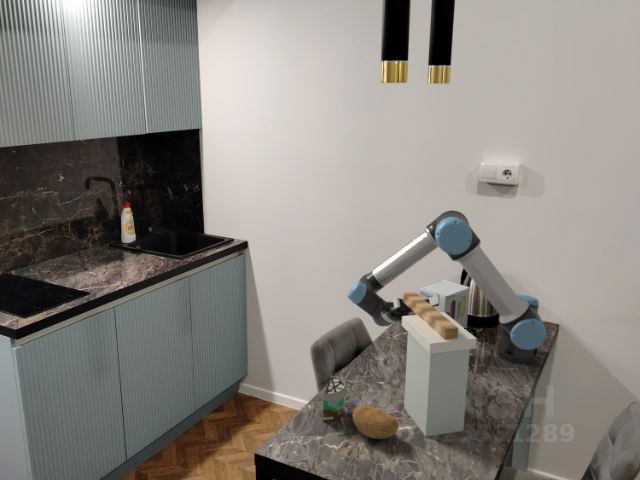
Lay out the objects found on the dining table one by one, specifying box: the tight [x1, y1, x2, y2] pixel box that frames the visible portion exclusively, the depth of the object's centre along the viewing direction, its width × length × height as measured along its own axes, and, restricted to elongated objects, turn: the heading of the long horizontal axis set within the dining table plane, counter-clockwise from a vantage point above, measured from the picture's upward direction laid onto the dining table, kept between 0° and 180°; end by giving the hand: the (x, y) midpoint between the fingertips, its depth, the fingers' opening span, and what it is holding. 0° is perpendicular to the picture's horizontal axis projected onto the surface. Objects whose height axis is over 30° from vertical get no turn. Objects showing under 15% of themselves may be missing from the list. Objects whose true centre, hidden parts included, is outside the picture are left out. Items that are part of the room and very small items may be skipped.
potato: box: [352, 404, 399, 440], centre depth 171 cm, size 10×14×8 cm
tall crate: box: [401, 312, 478, 438], centre depth 177 cm, size 20×14×30 cm
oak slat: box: [402, 291, 458, 339], centre depth 179 cm, size 30×4×3 cm, turn 15°
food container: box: [322, 375, 348, 423], centre depth 182 cm, size 12×6×10 cm, turn 168°
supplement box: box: [418, 279, 470, 329], centre depth 244 cm, size 17×13×18 cm
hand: (418, 300), depth 185 cm, fingers open, 13 cm apart
